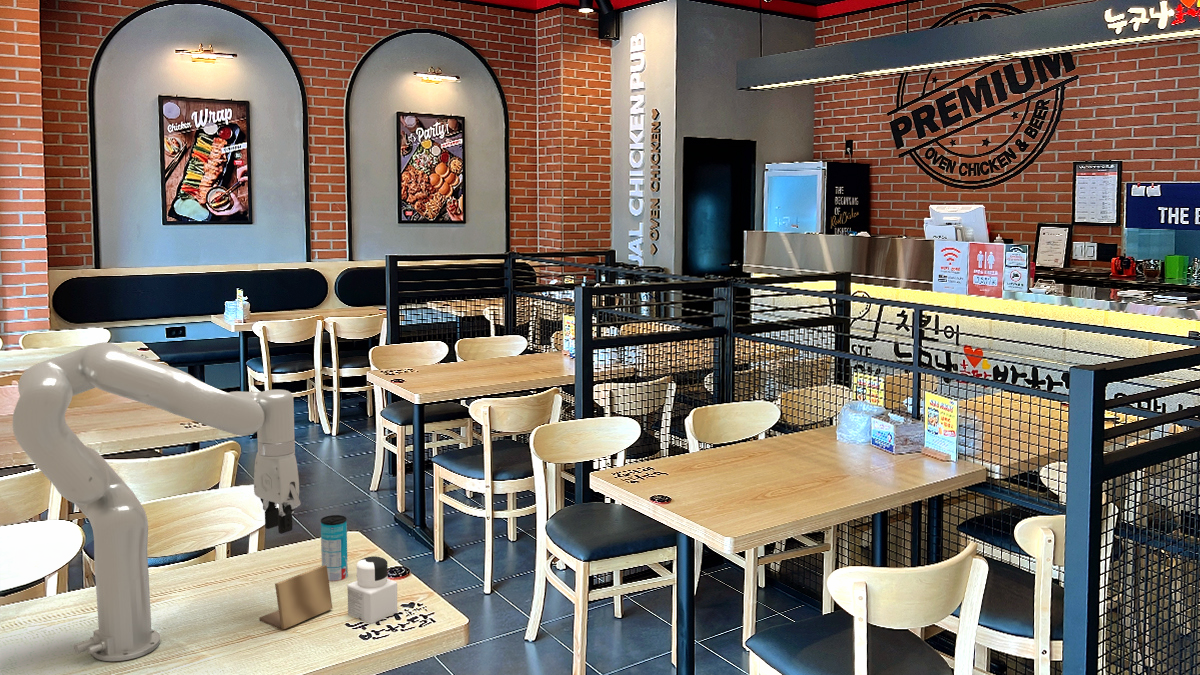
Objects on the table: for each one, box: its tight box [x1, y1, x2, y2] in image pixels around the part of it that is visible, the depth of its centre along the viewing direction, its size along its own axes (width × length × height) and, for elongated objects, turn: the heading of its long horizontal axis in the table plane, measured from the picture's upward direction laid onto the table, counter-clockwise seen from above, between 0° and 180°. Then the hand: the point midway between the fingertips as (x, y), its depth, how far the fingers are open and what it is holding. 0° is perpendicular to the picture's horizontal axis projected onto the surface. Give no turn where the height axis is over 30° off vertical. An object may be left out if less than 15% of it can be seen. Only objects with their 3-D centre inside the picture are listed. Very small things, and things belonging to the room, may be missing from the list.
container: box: [347, 556, 398, 625], centre depth 210 cm, size 8×8×13 cm
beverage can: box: [320, 514, 349, 582], centre depth 229 cm, size 6×6×15 cm
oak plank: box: [274, 565, 333, 630], centre depth 207 cm, size 13×10×1 cm
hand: (278, 528), depth 209 cm, fingers open, 3 cm apart
